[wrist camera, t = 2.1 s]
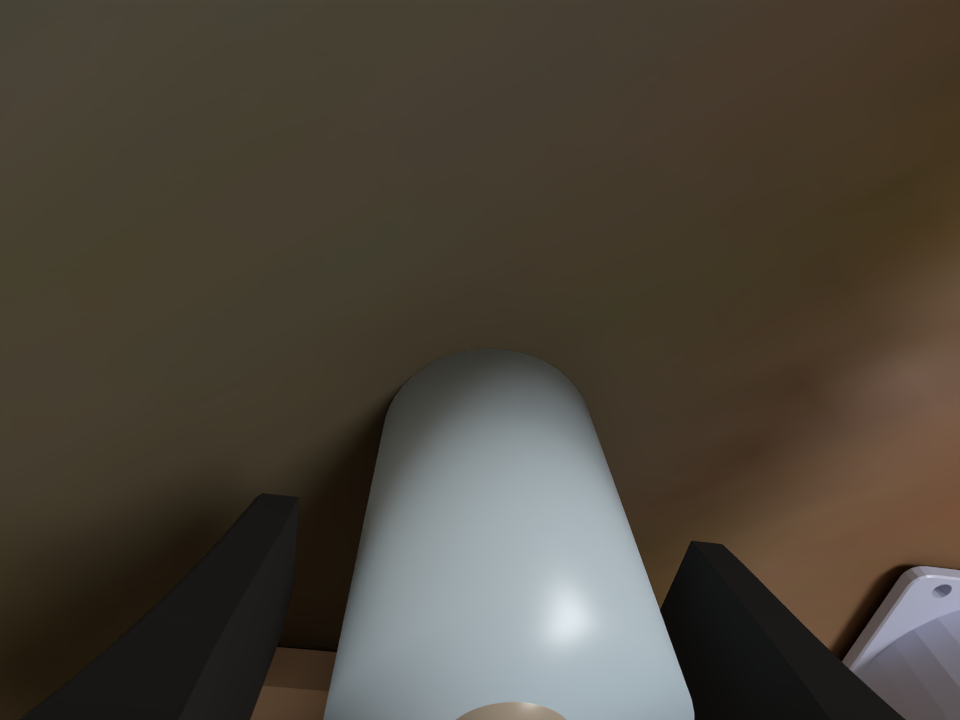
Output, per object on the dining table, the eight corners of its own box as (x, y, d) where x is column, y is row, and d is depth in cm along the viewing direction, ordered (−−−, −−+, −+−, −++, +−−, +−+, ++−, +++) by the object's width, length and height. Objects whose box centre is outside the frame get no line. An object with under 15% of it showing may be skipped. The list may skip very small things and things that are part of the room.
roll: (616, 365, 13) (753, 637, 7) (563, 532, 16) (632, 848, 9) (394, 333, 13) (333, 596, 7) (372, 510, 15) (312, 831, 9)
